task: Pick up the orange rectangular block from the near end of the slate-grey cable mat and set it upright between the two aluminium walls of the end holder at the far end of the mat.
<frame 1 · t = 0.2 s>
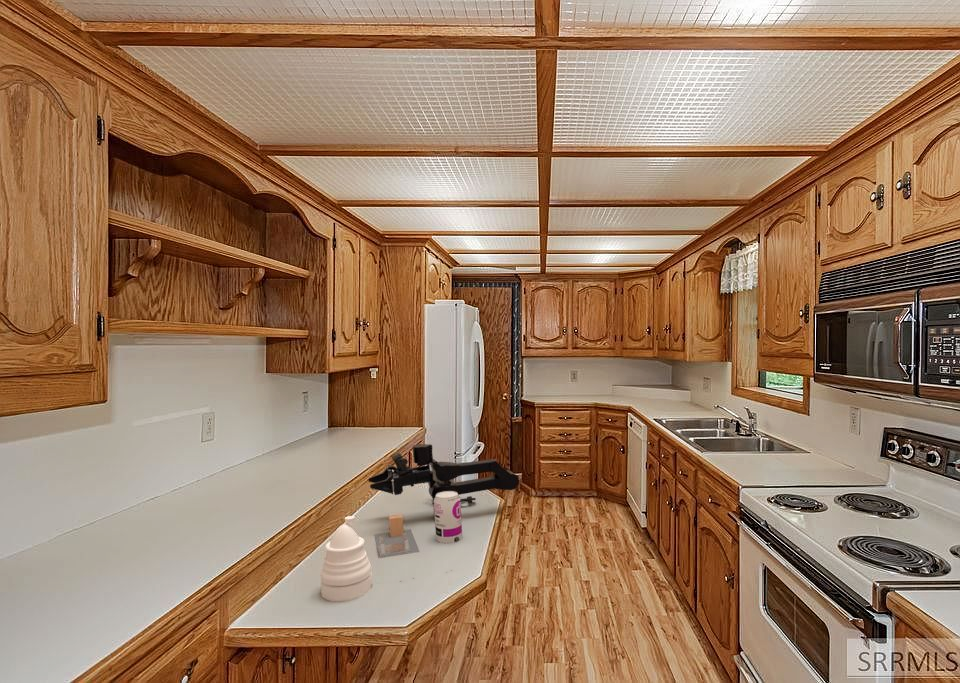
hand: (369, 483, 175), 17 cm above the counter, tool horizontal, fingers open, 9 cm apart
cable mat: (395, 546, 161), on the counter
orange rectangular block: (396, 535, 168), point 1 cm above the counter, touching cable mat
supplement can: (449, 542, 163), on the counter
end holder: (394, 549, 156), resting on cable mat
milk frother: (454, 504, 201), on the counter
honey pot: (347, 589, 135), on the counter
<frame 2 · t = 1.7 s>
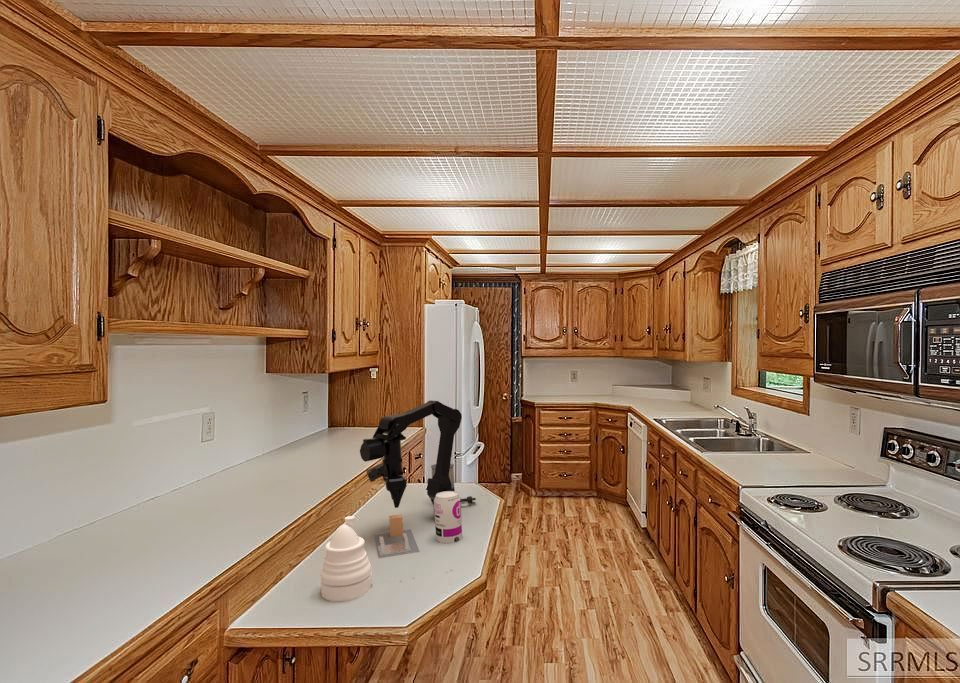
hand: (395, 503, 168), 11 cm above the counter, tool pointing down, fingers open, 9 cm apart
nothing on the counter moved.
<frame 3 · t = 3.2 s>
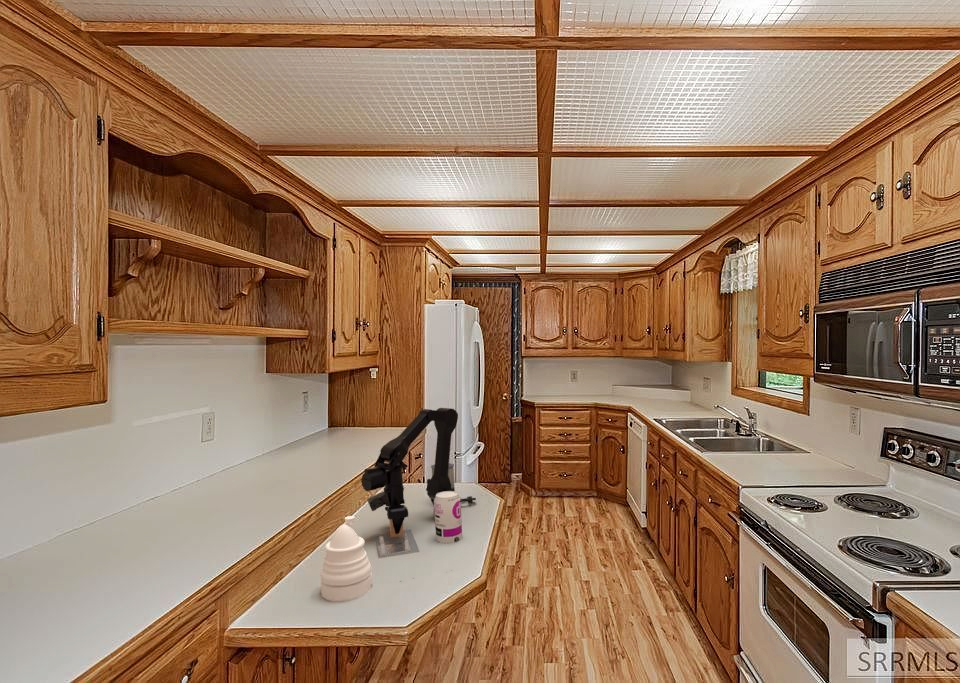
hand: (396, 531, 168), 2 cm above the counter, tool pointing down, fingers closed on orange rectangular block, 3 cm apart
orange rectangular block: (396, 535, 168), point 1 cm above the counter, touching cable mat, gripper
everything else where it was.
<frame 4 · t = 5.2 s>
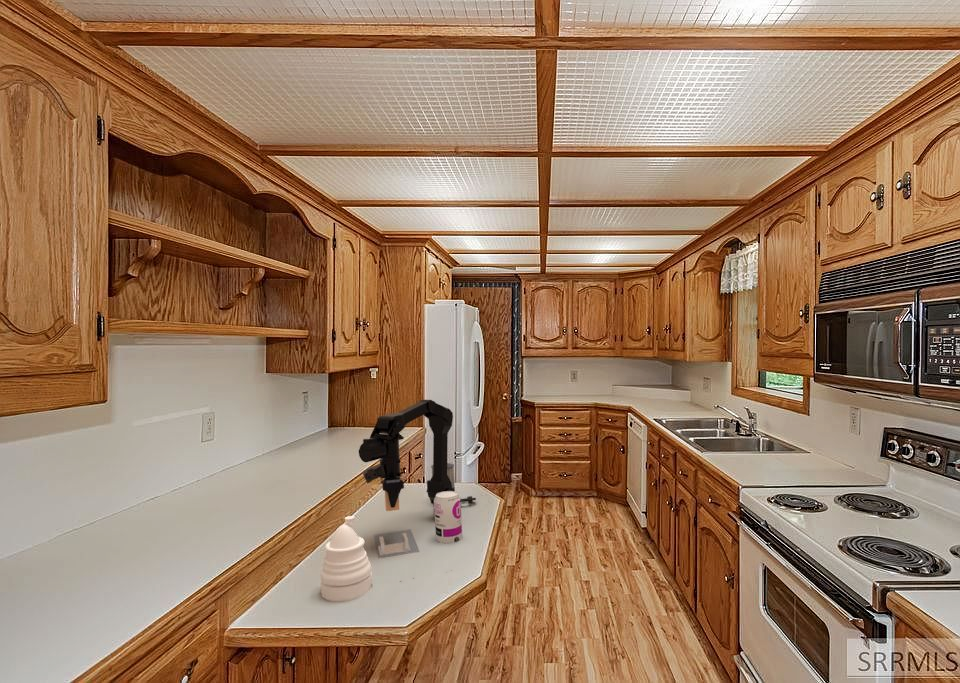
hand: (392, 505, 162), 13 cm above the counter, tool pointing down, fingers closed on orange rectangular block, 3 cm apart
orange rectangular block: (392, 509, 162), point 12 cm above the counter, touching gripper
everything else where it was.
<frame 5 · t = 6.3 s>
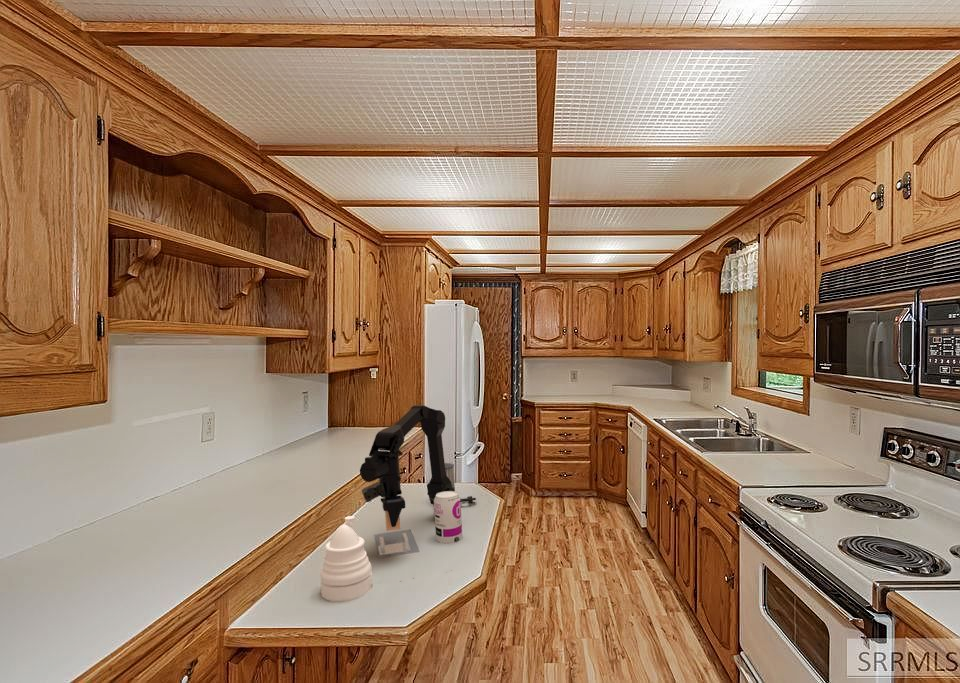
hand: (393, 524, 156), 9 cm above the counter, tool pointing down, fingers closed on orange rectangular block, 3 cm apart
orange rectangular block: (393, 528, 156), point 8 cm above the counter, touching gripper
everything else where it was.
when the fingers open (4 cm above the counter, at t = 7.3 s): orange rectangular block drops 1 cm, resting on end holder.
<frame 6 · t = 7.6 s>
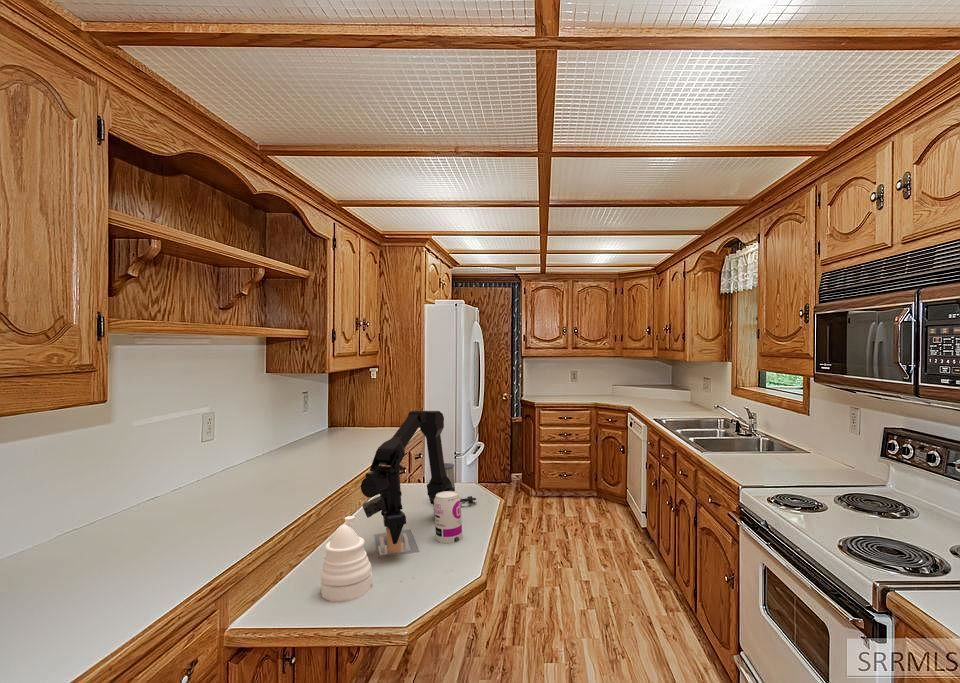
hand: (393, 539, 156), 4 cm above the counter, tool pointing down, fingers open, 6 cm apart
orange rectangular block: (394, 548, 156), point 2 cm above the counter, touching end holder
everything else where it was.
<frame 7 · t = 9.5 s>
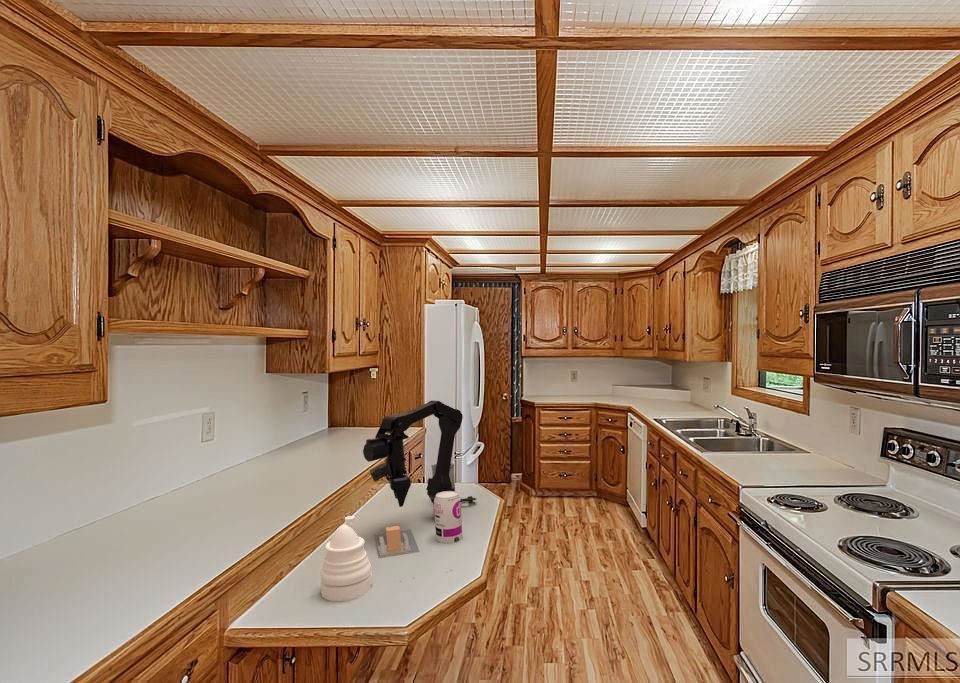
hand: (399, 502, 168), 12 cm above the counter, tool pointing down, fingers open, 9 cm apart
nothing on the counter moved.
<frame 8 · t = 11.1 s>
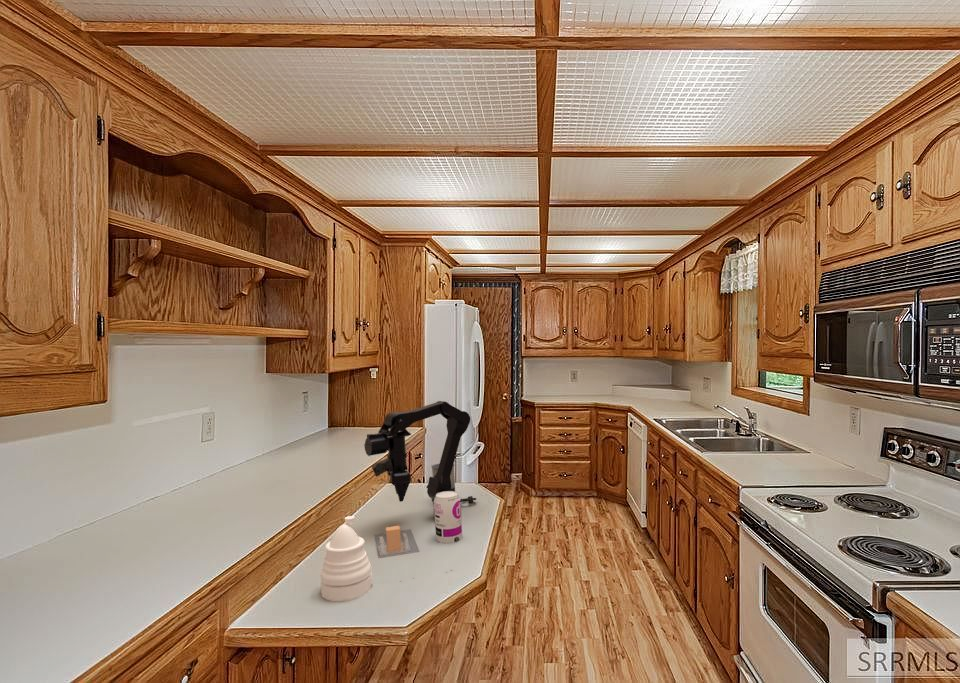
hand: (399, 497, 172), 12 cm above the counter, tool pointing down, fingers open, 9 cm apart
nothing on the counter moved.
at the end: orange rectangular block 0.0 cm off-centre on the end holder, point 0.5 cm above the end holder's base; orange rectangular block tilted 0°; the gripper is holding nothing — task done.
